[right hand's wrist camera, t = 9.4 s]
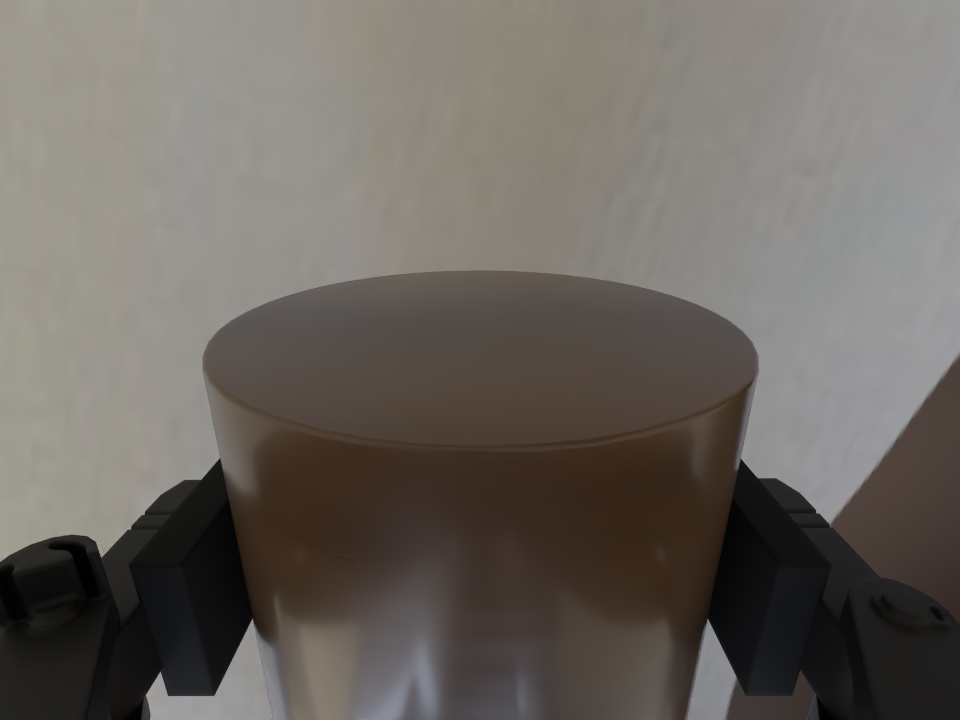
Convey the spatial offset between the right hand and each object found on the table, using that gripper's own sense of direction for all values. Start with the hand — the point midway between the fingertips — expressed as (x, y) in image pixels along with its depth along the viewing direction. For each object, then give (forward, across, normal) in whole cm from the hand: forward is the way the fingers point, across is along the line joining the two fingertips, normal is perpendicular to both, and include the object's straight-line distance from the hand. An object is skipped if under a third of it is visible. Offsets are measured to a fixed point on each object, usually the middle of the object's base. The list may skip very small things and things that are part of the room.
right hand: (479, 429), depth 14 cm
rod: (+1, 0, -7) cm, 7 cm away
